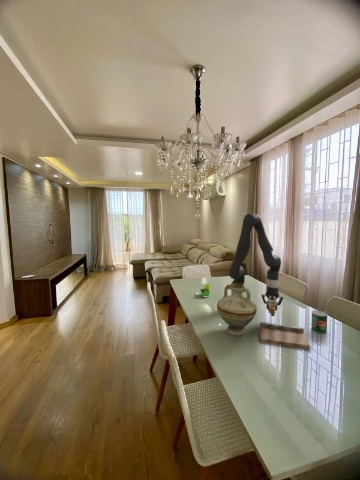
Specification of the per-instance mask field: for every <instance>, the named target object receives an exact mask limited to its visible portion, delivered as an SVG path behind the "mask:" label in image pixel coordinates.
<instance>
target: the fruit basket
mask: <svg viewBox="0 0 360 480" xmlns="http://www.w3.org/2000/svg"><path fill="white" fill-rule="evenodd" d="M210 290H211V285H210V284H209V283H207V284H206V285H204V288H200V293H201V294H200V295H201V297H202V296H208V297H209V296H210Z"/></svg>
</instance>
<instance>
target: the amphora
mask: <svg viewBox="0 0 360 480" xmlns="http://www.w3.org/2000/svg"><path fill="white" fill-rule="evenodd" d="M229 290H230V291H231V290H232V291H233V294H232V295H231V294H230V295H228V291H229ZM223 292H224V293H223V296H222V297H221V299H219V300H218V301H217V302H216V310H217V312H218V314H219V316H220V318H221V319H222V320H223V322H225V323H226V324H227V325H228V326H227V329H226V332H227V333H228V332H229V334H230V335H232V336H235V335H237V337H240V335H241V336H243V335H245V334H246V328H245V327H246V326H247V325H249V324H250V323H251V322H252V320H254V318H255V316H256V314H257V309H258V307H257V305H256V303H254V302H253V301H252V300H251V291H250V289H249V288H247V287H245V284H244V285H242V284H237V283H233V284H231V283H230V284H227V285H226V286H225V287H224V291H223ZM242 292H243V293H246V296H242V295H241V293H242Z"/></svg>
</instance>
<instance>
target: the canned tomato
mask: <svg viewBox="0 0 360 480" xmlns="http://www.w3.org/2000/svg"><path fill="white" fill-rule="evenodd" d="M311 330H312V331H313V332H314V333H316V332H317V333H316V334H320V333H321V334H322V335H323V334H327V332H328V313H327V312H325V311H323V310H312V311H311ZM321 334H320V335H321Z"/></svg>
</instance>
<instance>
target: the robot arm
mask: <svg viewBox="0 0 360 480" xmlns="http://www.w3.org/2000/svg"><path fill="white" fill-rule="evenodd" d="M252 229H254V230H255V231H256V235H257V236H256V237H257V243H258V246H259V249H260V250H261V252H262V256H263V260H264V263H265V265H266V266H267V267H269V268H268V270H267V273H266V282H265V283H266V286H265V287H266V288H265V293H261V299H262V301H263V304H265V305H266V306H265V307H266V310H267V311H268V310H269V302H270V300H273V301H275V303H276V308H275V312H277V311H278V306H281V304H282V302H283V300H284V296H283V295H280V293H279V288H280V287H279V284H280V283H279V276H280V275H279V272H280V269H281V266H282V260H281V257H280V256H279V255H273V252H274V248H273V246H272V244H271V242H270V240H269V238H268V236H267V233H266V230H265V228H264V225H263V221H262V218H261V216H260V215H259V214H257V213H248V214H245V215H244V217H243V219H242V225H241V231H240V235H239V237H238V238H239V239H238V242H237V246H236V249H235V253H234V257H233V260H232V263H231V265H230V267H229V271H228V274H229V277H230V279H232V280H233V281H231V283H230V285H231V284H233V283H237V284H242V285H244V286H245V279H246V277H245V276H246V272H245V268H244V267H243V266H242V264H243V262H244V261H245V259H246V258H247V257H248V256H249V255H248V254H249V253H250V250H251V245H252V240H251V232H252ZM230 291H231V292H230V295H232V294H233V291H232V290H231V289H230ZM244 293H245V292H242V293H241V295H242V296H244ZM244 297H245V296H244ZM265 298H267V300H266V299H265ZM277 299H279V300H278V301H277Z"/></svg>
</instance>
